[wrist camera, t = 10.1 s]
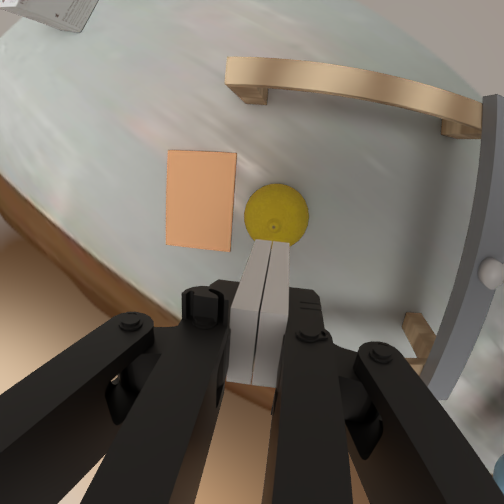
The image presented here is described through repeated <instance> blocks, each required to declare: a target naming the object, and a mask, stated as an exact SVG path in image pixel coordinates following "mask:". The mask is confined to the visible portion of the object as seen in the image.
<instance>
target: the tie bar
mask: <svg viewBox="0 0 504 504" xmlns="http://www.w3.org/2000/svg"><path fill="white" fill-rule="evenodd" d="M503 264H504V97H502V96H501V95H498V94H495V95H489V96H484V97H483V116H482V135H481V147H480V158H479V167H478V175H477V182H476V189H475V195H474V201H473V207H472V213H471V218H470V223H469V228H468V232H467V237H466V241H465V245H464V250H463V254H462V257H461V261H460V265H459V269H458V272H457V276H456V279H455V283H454V286H453V289H452V293H451V296H450V299H449V302H448V305H447V308H446V311H445V314H444V317H443V320H442V322H441V325H440V328H439V331H438V333H437V336H436V339H435V341H434V344H433V346H432V349H431V351H430V354H429V356H428V358H427V361H426V363H425V365H424V368H423V370H422V372H421V374H420V378H421V379H422V381H423V382H424V383H425V384H426V386H427V387H428V388H429V390H430V391H431V392H432V394H433V395H434V396H435V398H436V399H437V400H447V399H448V398H449V396H450V394H451V392H452V390H453V388H454V387H455V385H456V383H457V381H458V379H459V377H460V375H461V373H462V371H463V369H464V367H465V365H466V363H467V361H468V358H469V356H470V354H471V352H472V350H473V347H474V345H475V343H476V341H477V338H478V336H479V333H480V331H481V328H482V326H483V323H484V321H485V318H486V316H487V313H488V310H489V308H490V305H491V302H492V299H493V296H494V293H495V290H496V288H498V287H499V286H500V285H501V284H502V283H503V281H504V265H503Z"/></svg>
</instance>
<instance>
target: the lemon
mask: <svg viewBox="0 0 504 504" xmlns="http://www.w3.org/2000/svg"><path fill="white" fill-rule="evenodd" d="M308 220H309V213H308V207H307V205H306V202H305V200H304V199H303V197H302V196H301V194H300V193H299V192H297V191H296V190H295V189H293V188H291V187H289V186H287V185H283V184H270V185H266V186H263V187H262V188H260V189H258V190H257V191H256V192H255V193H254V194H253V195H252V196H251V197H250V199H249V201H248V202H247V204H246V208H245V212H244V222H245V225H246V229H247V231H248V233H249V235H250V236H251V238H252V239H253V240H254V241H255V239H259V240H268V241H272V245H273V241H276V242H285V243H289V247H290V246H292V245H293V244H295V243H296V242H297V241H299V239H300V238H301V237H302V236H303V234H304V233H305V230H306V228H307V226H308ZM272 245H271V249H272Z"/></svg>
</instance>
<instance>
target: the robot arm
mask: <svg viewBox="0 0 504 504" xmlns="http://www.w3.org/2000/svg"><path fill="white" fill-rule="evenodd" d="M271 245H272V241H268V240H259V239H255V242H254V245H253V248H252V250H251V253H250V256H249V259H248V261H247V264H246V267H245V270H244V273H243V275H242V278H241V281H240V282H234V281H226V280H217V281H215V282H214V283H212V284H210V286H198V287H192V288H189V289H186V290H185V291H184V292H183V293H182V320H181V322H180V323H179V325H178V326H175V327H154V323H153V320H152V319H151V317H149V316H148V315H146V314H143V313H139V312H126V313H121V314H119V315H117V316H115V317H113V318H111V319H110V320H108V321H107V322H105V323H104V324H103V325H101V326H99V327H98V328H96V329H95V330H93V331H92V332H90V333H89V334H88V335H86V336H85V337H83V338H82V339H80V340H79V341H77V342H76V343H74V344H73V345H71V346H70V347H69V348H67V349H66V350H64V351H63V352H61V353H60V354H58V355H57V356H55V357H54V358H52V359H51V360H50V361H48V362H47V363H45V364H44V365H43V366H41V367H39V368H38V369H37V370H35V371H34V372H32V373H31V374H30V375H28V376H27V377H25V378H24V379H23V380H21V381H20V382H18V383H17V384H15V385H14V386H12V387H11V388H10V389H8V390H7V391H5V392H4V393H3V394H1V395H0V504H58V503H59V501H60V500H62V498H63V497H64V496H65V495H66V494H67V493H68V492H69V491H70V490H71V489H72V488H73V487H74V486H75V485H76V484H77V483H78V482H79V481H80V480H81V479H82V478H83V477H84V476H85V475H86V474H87V473H88V472H89V471H90V470H91V469H92V468H93V467H94V466H95V465H96V464H97V463H98V461H99V460H100V459H101V458H102V457H103V456H104V455H105V454H106V455H105V457H104V459H103V461H102V463H101V464H100V466H99V468H98V470H97V472H96V474H95V476H94V478H93V480H92V482H91V483H90V485H89V487H88V489H87V491H86V493H85V495H84V497H83V499H82V501H81V503H80V504H194V502H195V499H196V495H197V491H198V488H199V484H200V481H201V477H202V473H203V469H204V466H205V462H206V458H207V455H208V450H209V447H210V443H211V440H212V436H213V432H214V429H215V425H216V421H217V417H218V414H219V410H220V406H221V402H222V398H223V395H224V385H225V378H226V374H227V381H230V382H236V383H243V384H250V383H251V378H252V372H253V366H254V372H253V380H252V385H258V386H266V387H275V388H276V390H275V395H274V400H273V405H272V411H271V415H272V421H271V430H270V439H269V448H268V456H267V465H266V473H265V481H264V489H263V496H262V504H353V499H352V487H351V476H350V466H349V455H348V452H349V454H350V457H351V459H352V461H353V464H354V466H355V468H356V471H357V473H358V476H359V478H360V480H361V483H362V485H363V487H364V490H365V492H366V495H367V497H368V500H369V502H370V504H504V454H503V455H502V456H501V457H500V458H499V459H498V461H497V462H496V465H495V468H494V473H493V477H492V476H491V474H490V473H489V471H488V470H487V468H486V467H485V465H484V464H483V463H482V461H481V460H480V458H479V457H478V455H477V454H476V452H475V451H474V450H473V448H472V447H471V445H470V444H469V443H468V441H467V440H466V438H465V437H464V436H463V434H462V433H461V431H460V430H459V429H458V427H457V426H456V424H455V423H454V422H453V420H452V419H451V418H450V416H449V415H448V414H447V412H446V411H445V410H444V408H443V407H442V406H441V404H440V403H439V402H438V400H437V399H436V398H435V396H434V395H433V394H432V392H431V391H430V390H429V388H428V387H427V386H426V384H425V383H424V382H423V381H422V379H421V378H420V377H419V375H418V374H417V373H416V372H415V370H414V369H413V368H412V366H411V365H410V364H409V363H408V361H407V360H406V359H405V358H404V356H403V355H402V354H401V353H400V352H399V351H398V350H397V349H396V348H395V347H393V346H391V345H389V344H387V343H383V342H367V343H364V344H363V345H361V346H360V347H359V350H358V352H355V351H351V350H347V349H344V348H342V347H339V346H337V345H335V344H334V343H333V340H332V337H331V335H330V333H329V332H328V331H327V330H326V329H325V328H324V322H323V316H322V311H321V305H320V298H319V296H318V295H317V294H316V293H315V292H314V291H313V290H309V289H300V288H292V287H289V243H285V242H276V241H273V245H272V250H271ZM270 254H271V256H270ZM254 361H255V363H254ZM116 375H118V377H117V378H116V379H115V380H113V381H112V382H111V380H112V379H113V378H114V377H115V376H116Z"/></svg>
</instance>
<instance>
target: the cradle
mask: <svg viewBox="0 0 504 504" xmlns="http://www.w3.org/2000/svg"><path fill="white" fill-rule="evenodd" d="M225 85H227V86H228V87H229V88H230V89H231V90H232V91H233V92H234V93H235V94H236V95H237V96H238V97H239V98H240V99H241V100H243V101H244V102H245V103H246V104H259V105H267V95H268V88H272V89H284V90H295V91H305V92H313V93H321V94H329V95H336V96H342V97H348V98H354V99H360V100H366V101H371V102H376V103H381V104H386V105H391V106H395V107H399V108H404V109H408V110H412V111H416V112H420V113H424V114H428V115H431V116H435V117H438V118H442V126H441V135H445V136H448V137H452V138H455V139H481V135H482V116H483V104H482V103H480V102H477V101H475V100H472V99H469V98H466V97H464V96H461V95H458V94H455V93H452V92H449V91H446V90H443V89H440V88H436V87H433V86H430V85H426V84H423V83H419V82H415V81H412V80H408V79H404V78H400V77H396V76H391V75H387V74H383V73H378V72H373V71H368V70H363V69H358V68H352V67H346V66H340V65H333V64H326V63H318V62H310V61H301V60H290V59H277V58H260V57H227V63H226V74H225ZM402 329H403V330H404V332H405V334H406V336H407V338H408V340H409V342H410V344H411V346H412V348H413V350H414V352H415V354H416V356H417V358H405V359H406V360H407V361H408V363H409V364H410V365H411V366H412V368H413V369H414V370H415V372H416V373H417V374H418V375H419V377H420V374H421V372H422V370H423V368H424V365H425V363H426V361H427V358H428V356H429V354H430V351H431V349H432V346H433V344H434V341H435V339H436V335H435V334H434V332H433V331H432V329H431V328H430V326H429V324H428V323H427V321H426V320H425V318H424V317H423V315H422V314H421V313H410V312H406V315H405V318H404V322H403V325H402ZM254 363H255V361H254ZM253 372H254V366H253Z"/></svg>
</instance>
